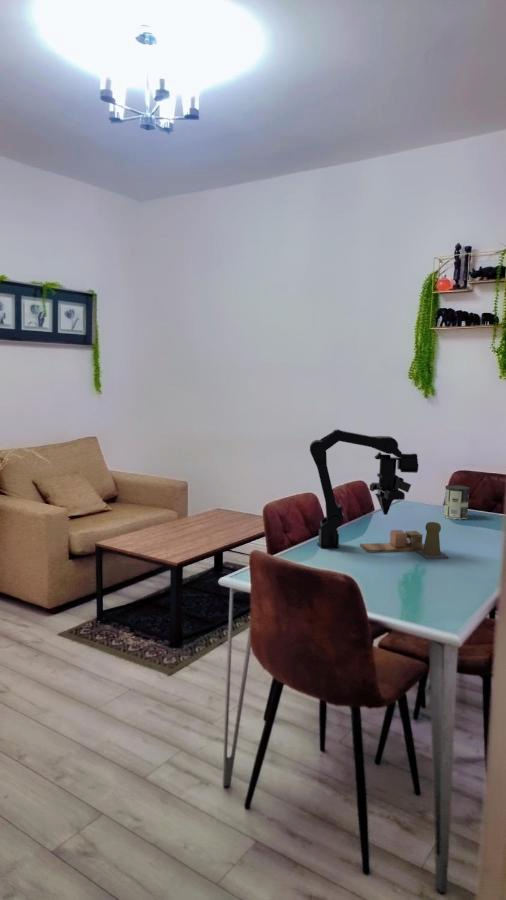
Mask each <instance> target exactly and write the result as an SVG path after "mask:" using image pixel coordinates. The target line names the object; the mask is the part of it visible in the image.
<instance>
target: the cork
mask: <svg viewBox="0 0 506 900" xmlns="http://www.w3.org/2000/svg"><path fill="white" fill-rule="evenodd" d="M441 530H442V526H441V524H440V523H438V522H435V521H430V522H429V521H428V522H427V523H426V524H425V531H426V535H425V538H424V539H425V540H424V543H423V544H424V549H423V553H424V554H426V555H431V556H438V555H440V551H441V542H440V540H441V539H440V532H441Z"/></svg>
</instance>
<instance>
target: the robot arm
mask: <svg viewBox="0 0 506 900" xmlns="http://www.w3.org/2000/svg"><path fill="white" fill-rule="evenodd" d="M338 442H343V443H349V444H354V445H358V446H364V447H369V448H372V449H374V450H377V451H380V452H377V454H376V455H375V456H374V458H375V460H379V472H378V473H377V475H376V477H378V482H371V484H369V491H371V492H374V491H377V492H376V493H375V494H374V495H375V496H376V498H377V500H378V503H379V506H380V509H381V512H382V514H383V515H386V516H387V515H388V513H389V511H390V507H391V505H392V504H393V502H394V501H401V500H403V501H404V500H405V497H406V494H405V493H409V491H410V489H411V487H412V484H411V483H408V482H406V481H404V478H403V477H400V476H398V475H396V474H397V473H396V470H399V471H400V473H408V474H409V473H411V474H412V473H414V474H416V473H418V472H419V460H418V459H419V458H418V454H417V453H402V451H401V450H400V449H399V443H398V441H397V440H396V438H393V436H389V435H385V436H384V435H379V436H377V435H376V436H373V435H367V434H361V433H355V432H350V431H345V430H342V429H341V430H340V429H334V430H332V432H331V433H329V434H327V435H326V436H323V437H322V438H320V439H315V440H312V442H311V443H310V444H309V452H310V454H311V457H312V459H313V461H314V463H315V466H316V469H317V472H318V476H319V480H320V484H321V489H322V493H323V496H324V501H325V515H326V516H325V517H324V518H323V519H321V520H320V521H319V522H320V528H319V529H318V542H317V543H316V544H317V546H318V547H319V548H321V549H322V548H323V550H324V549H325V550H326V549H339V547H340V546H339V545H340V544H339V542H340V539H339V538H340V534H339V533H338V528H340V527H341V526H342V524H343V522H344V520H343V519H344V518H345V516H344V512H343V507H342V504H341V503H337V501H336V498H335V494H334V490H333V485H332V482H331V477H330V473H329V469H328V463H327V462H328V461H327V451H328V450H329V449H330V448H332V447H334V445H336V444H337V443H338ZM381 452H383V453H385V454H382V453H381ZM391 454H392V455H393V456H395V457H393V456H392V457H391Z"/></svg>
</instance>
